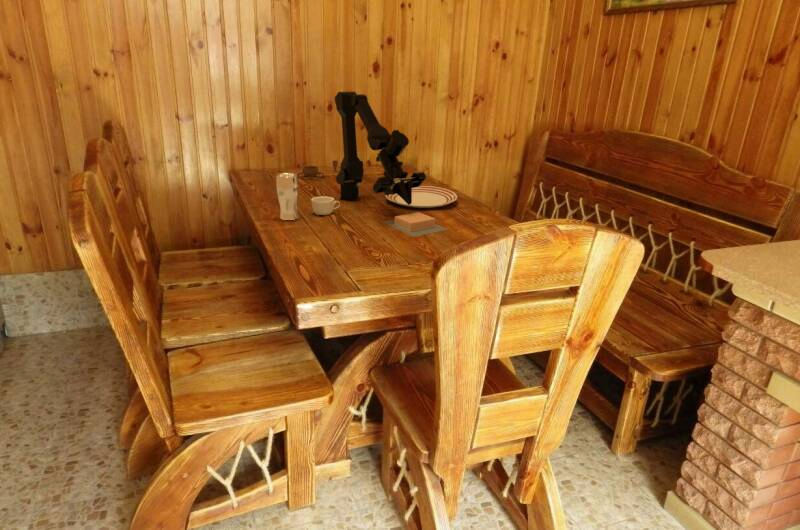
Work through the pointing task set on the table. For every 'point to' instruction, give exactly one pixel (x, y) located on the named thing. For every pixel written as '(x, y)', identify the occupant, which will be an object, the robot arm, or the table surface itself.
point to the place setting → (314, 171)
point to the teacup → (323, 205)
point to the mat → (417, 232)
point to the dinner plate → (426, 197)
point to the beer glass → (287, 195)
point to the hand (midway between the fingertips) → (410, 203)
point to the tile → (414, 221)
